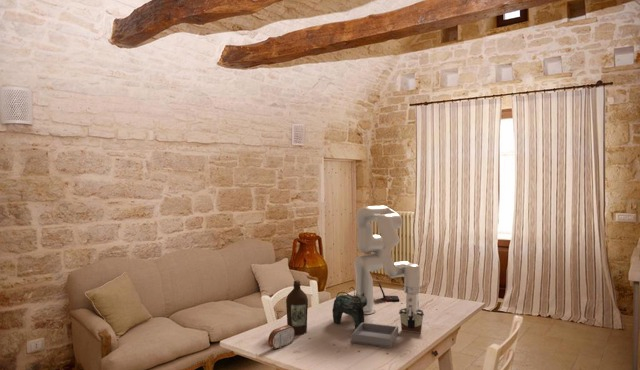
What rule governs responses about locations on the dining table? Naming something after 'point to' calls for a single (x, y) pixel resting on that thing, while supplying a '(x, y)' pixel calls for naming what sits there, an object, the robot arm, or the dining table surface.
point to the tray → (375, 335)
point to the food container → (417, 318)
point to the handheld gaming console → (389, 298)
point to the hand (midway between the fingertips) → (412, 325)
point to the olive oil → (297, 309)
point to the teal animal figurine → (349, 307)
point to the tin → (281, 336)
